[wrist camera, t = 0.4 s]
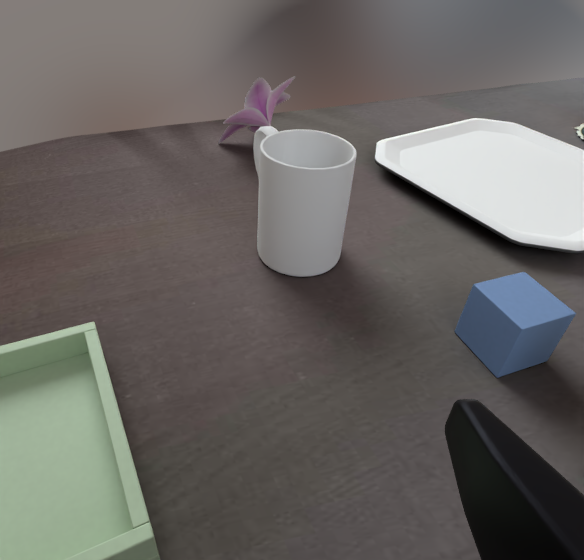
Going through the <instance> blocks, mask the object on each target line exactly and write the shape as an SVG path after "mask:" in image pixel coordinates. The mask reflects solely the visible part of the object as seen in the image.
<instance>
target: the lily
mask: <svg viewBox="0 0 584 560" xmlns="http://www.w3.org/2000/svg"><path fill="white" fill-rule="evenodd" d="M294 78H295V77H292V78H290V79H288V80H287V81H285V82H284V83H282V84H281V85H279V86H278V87H277V88H275V89H274V90H273V91H271V88H270V86H269V84H268V83H267V82H266V81H265V79H263V78H261V77H260V78H258V79H257V80H256V81H255V82H254V83H253V85H252V86H251V88H250V90H249V92H248V93H247V96H246V99H245V104H244V106H245V108H244V109H242V110H240V111H238V112H236V113H235V114H233V115H232V116H230V117H229V118H227V119H226V120H225V121H224V122H223V123H224V124H231V125H230V126H229V127H228V128H227V129H226V130H225V131H224V133H223V134H222V136H221V138H220V139H219V142H218V144H219V143H221V142H222V141H224V140H225V139H226V138H228V137H229V136H230V135H232V134H233V133H235V132H236V131H238V130H240V129H241V128H244V127H246V126H251V127H248V129H249V130H250V131H252V132H254V133H256V131H257V130H258V129H259V128H260V127H264V126H271V119H272V115H273V111H274V108H275V106H277V105H278V104H280V103H282V102H284V101H286V100H288V99H289V98H290V95H289V94H287V93H284V92H283V91H284V90H285V89H286V88H287V87H288V85H289V84H290V83H291V82H292V81H293V79H294Z"/></svg>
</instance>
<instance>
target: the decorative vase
mask: <svg viewBox="0 0 584 560" xmlns="http://www.w3.org/2000/svg"><path fill="white" fill-rule="evenodd" d="M576 129H578V130H579V131H577V132H576V133H578V136H581V137H580V138H581V139H584V124H581V125H580V126H579V127H577V128H576Z"/></svg>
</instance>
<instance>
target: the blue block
mask: <svg viewBox="0 0 584 560" xmlns="http://www.w3.org/2000/svg"><path fill="white" fill-rule="evenodd" d="M575 314H576V313H575V312H574V311H572V310H571V309H570V308H569V307H568V306H566V305H565V304H564V303H563V302H561V301H560V300H559V299H558V298H556V297H555V296H554V295H553V294H551V293H550V292H549V291H548V290H546V289H545V288H544V287H543V286H541V285H540V284H539V283H538V282H536V281H535V280H534V279H533V278H532V277H530V276H529V275H528V274H527V273H525V272H521V273H517V274H513V275H509V276H505V277H501V278H497V279H493V280H489V281H484V282H480V283H476V284H473V287H472V289H471V292H470V294H469V297H468V299H467V302H466V304H465V307H464V309H463V312H462V314H461V317H460V319H459V322H458V324H457V327H456V329H455V333H456V334H457V335H458V336H459V337H460V338H461V340H462V341H463V342H464V343H465V344H466V345H467V346H468V347H469V348H470V349H471V350H472V351H473V353H474V354H475V355H476V356H477V357H478V358H479V359H480V360H481V361H482V362H483V363H484V364H485V366H486V367H487V368H488V369H489V370H490V371H491V372H492V373H493V374H494V375H495V376H496V377H497V378H498V377H501V376H504V375H507V374H510V373H513V372H516V371H519V370H522V369H525V368H528V367H531V366H534V365H537V364H540V363H543V362H546V361H548V359H549V357H550V356H551V354H552V352H553V351H554V349H555V347H556V346H557V344H558V342H559V341H560V339H561V337H562V336H563V334H564V333H565V331H566V329H567V328H568V326H569V324H570V323H571V321H572V319H573V318H574V316H575Z"/></svg>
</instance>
